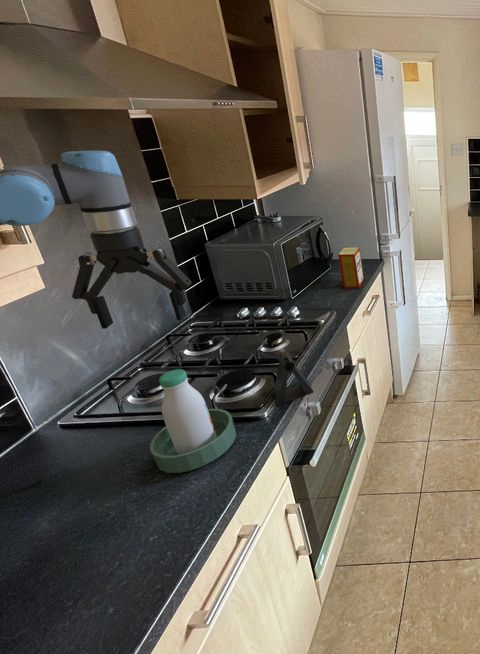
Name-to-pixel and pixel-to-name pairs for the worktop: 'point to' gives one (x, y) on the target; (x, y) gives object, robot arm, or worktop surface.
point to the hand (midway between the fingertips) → (145, 321)
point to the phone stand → (280, 389)
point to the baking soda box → (351, 267)
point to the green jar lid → (176, 463)
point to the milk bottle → (185, 413)
